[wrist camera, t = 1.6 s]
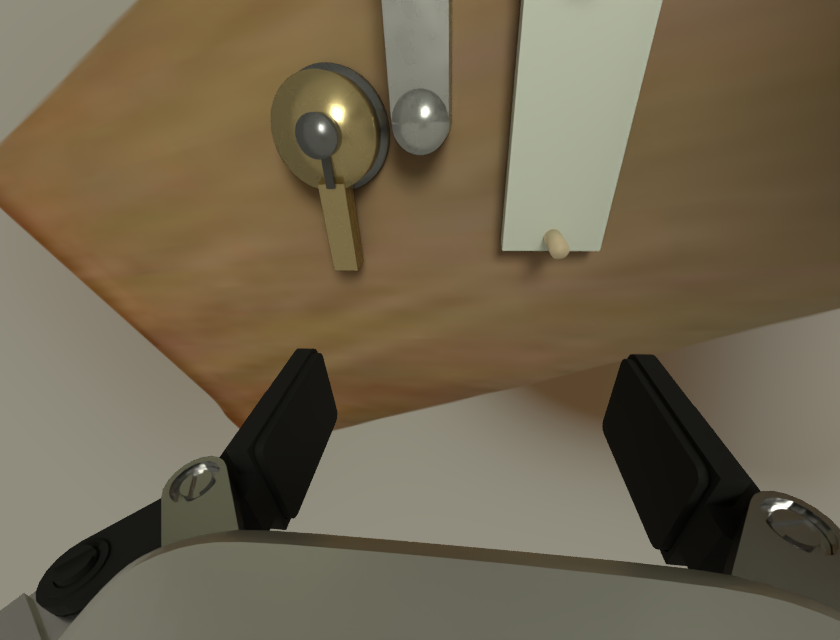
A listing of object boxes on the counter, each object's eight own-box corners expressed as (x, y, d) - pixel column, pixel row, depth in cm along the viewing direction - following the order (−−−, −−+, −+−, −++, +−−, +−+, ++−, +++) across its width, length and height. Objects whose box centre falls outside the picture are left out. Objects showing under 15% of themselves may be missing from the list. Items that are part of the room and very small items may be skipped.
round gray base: (270, 67, 26) (264, 66, 26) (383, 59, 25) (381, 58, 24) (298, 189, 31) (294, 191, 30) (394, 187, 30) (392, 189, 29)
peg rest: (527, -78, 20) (540, -122, 16) (672, -95, 19) (726, -148, 15) (500, 242, 31) (504, 264, 27) (592, 242, 30) (611, 265, 26)
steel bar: (403, 149, 28) (393, 156, 25) (386, -108, 21) (369, -147, 17) (451, 147, 28) (448, 154, 24) (452, -117, 20) (448, -160, 17)
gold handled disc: (270, 74, 26) (245, 71, 23) (374, 66, 24) (361, 62, 22) (313, 261, 34) (299, 275, 31) (393, 261, 33) (385, 277, 30)
